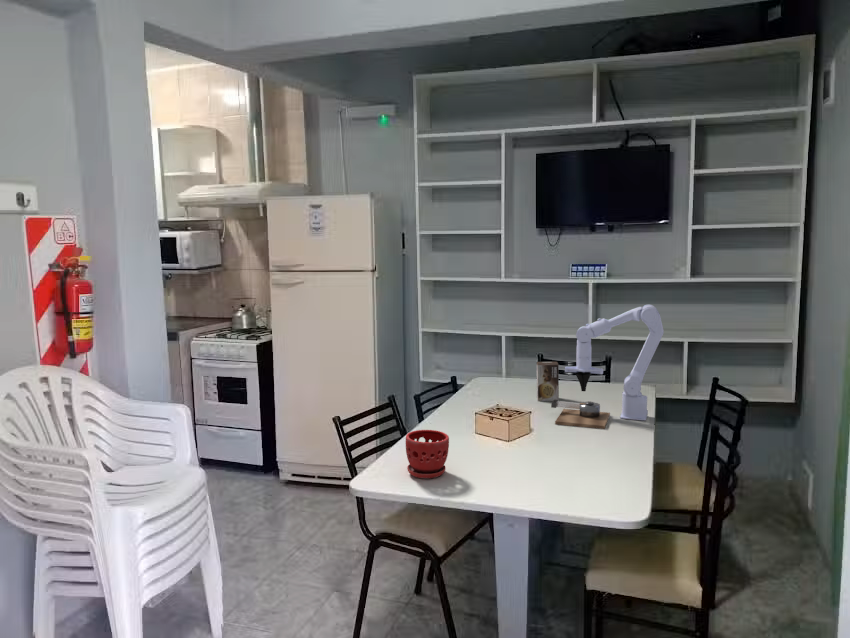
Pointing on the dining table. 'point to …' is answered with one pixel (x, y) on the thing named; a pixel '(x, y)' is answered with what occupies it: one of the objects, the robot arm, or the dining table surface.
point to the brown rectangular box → (547, 381)
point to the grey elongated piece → (580, 407)
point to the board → (582, 419)
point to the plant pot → (427, 453)
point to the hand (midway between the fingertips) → (583, 390)
